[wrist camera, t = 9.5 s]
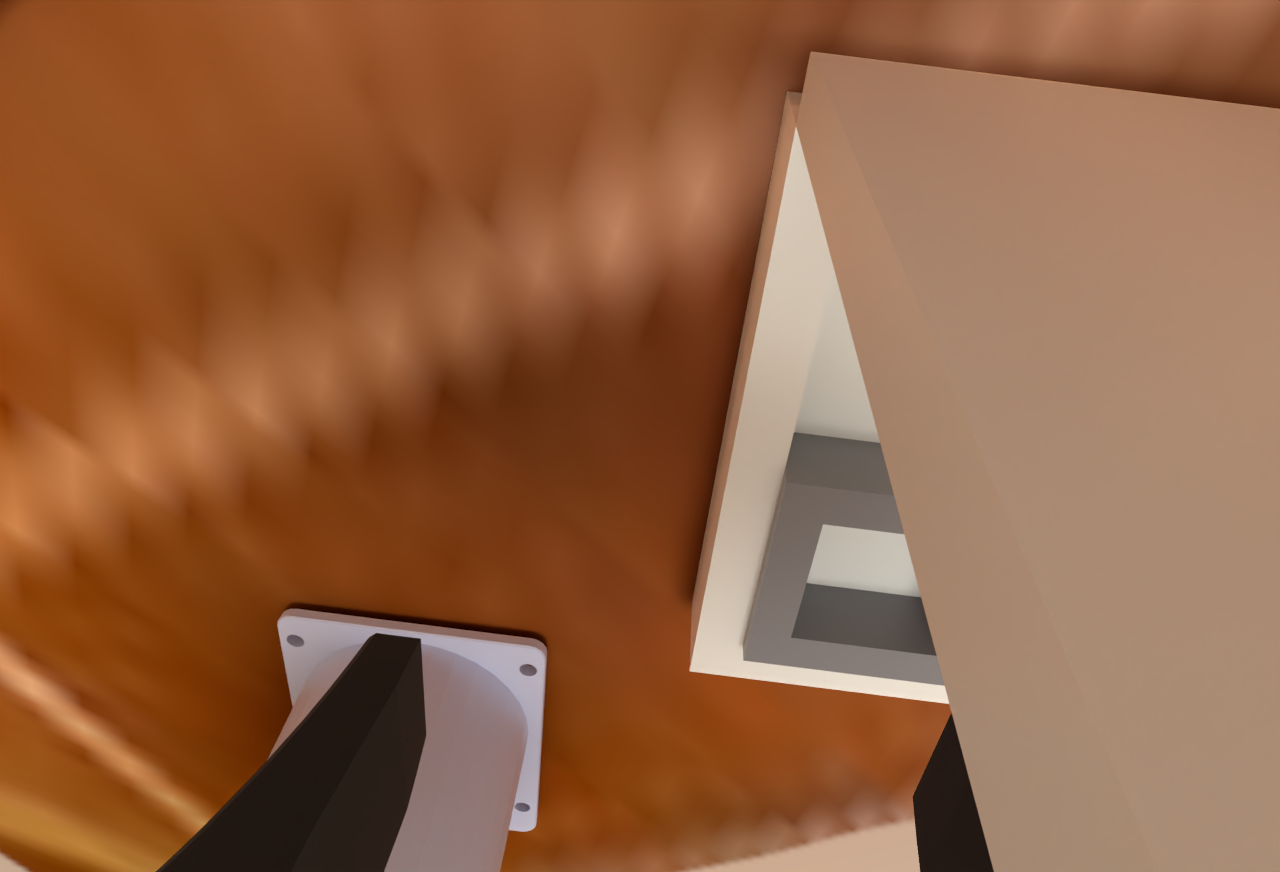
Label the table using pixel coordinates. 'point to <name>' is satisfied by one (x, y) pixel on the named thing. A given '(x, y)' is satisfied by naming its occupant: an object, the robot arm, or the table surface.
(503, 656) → the robot arm
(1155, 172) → the equipment case
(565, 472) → the table surface
